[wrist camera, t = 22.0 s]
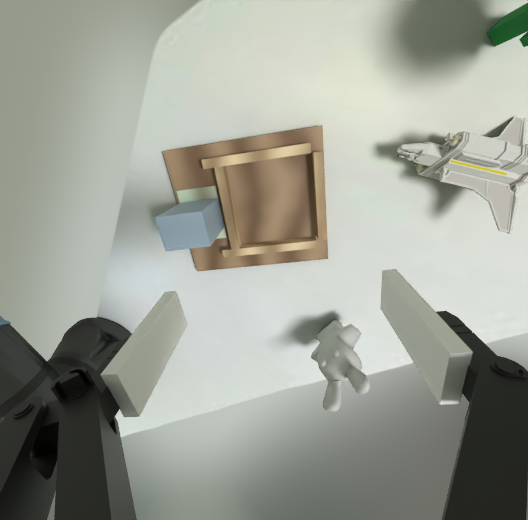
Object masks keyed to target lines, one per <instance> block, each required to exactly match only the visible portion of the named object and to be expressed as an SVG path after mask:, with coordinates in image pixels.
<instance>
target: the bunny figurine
mask: <svg viewBox="0 0 528 520" xmlns="http://www.w3.org/2000/svg"><path fill="white" fill-rule="evenodd" d="M360 335H361V332H360V331H359V330H358V329H357V328H356V327H354V326H353V325H352V324H350V325H348V326H346V327H343V326H342V324H341V323H340V322H339V321H338V320H336V319H334V320H333V321H332V322H331V323H329V325H328V326H326V327H324V328H323V329H322V330H321V331H320V332H319V333H318V334H317V336H316V337H317V339H318V340H319V341H320V344H319V345H318V347H317V348H316V349H315V351H314V352H313V353H312V355H311V358H312V359H314V360H315V361H316V362H318V365H319V369H320V370H321V372H322V373H323V375H324V376H325V377H326V379H327V380H328V382H329V383H328V386H327V390H326V393H325V397H324V400H323V407H324V408H325V410H329V411H333V412H336V411H337V410H338V409H339V407H340V404H341V387H342V382H347V381H350V383H351V384H352V386H353V387H354V389H355V390H356V392H357V393H359V394H365V393H367V391H368V390H369V389H370V384H369V381H368V379H367V377H366V375H365V374H364V373H362V372H361V371H360V370H361V369H362V363H361V361H360V358H359V357H358V355H357V354H356V353H355V352H354V351H353V348H354V346H355V344H356V342H357V340H358V339H359V337H360Z"/></svg>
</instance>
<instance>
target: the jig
mask: <svg viewBox="0 0 528 520" xmlns="http://www.w3.org/2000/svg"><path fill="white" fill-rule="evenodd" d="M163 155H164V158H165V162H166V165H167V169H168V172H169V176H170V179H171V183H172V186H173V190H174V193H175V197H176V200H177V204H179V203H184V202H192V201H199V200H207V199H214V198H218V199H219V204H220V209H221V213H222V218H223V223H224V228H223V230H222V231H221V233H220V234H219V235H218V237H217V238H216V239H215V241H214V242H213V244H212V245H211V246H209V247H200V248H191V253H192V256H193V260H194V263H195V267H196V270H197V271H205V270H216V269H226V268H237V267H247V266H258V265H268V264H279V263H289V262H300V261H310V260H320V259H328V246H327V222H326V199H325V175H324V152H323V128H322V125H321V126H315V127H309V128H303V129H297V130H291V131H284V132H278V133H272V134H266V135H260V136H254V137H248V138H242V139H236V140H230V141H224V142H218V143H212V144H206V145H199V146H193V147H187V148H181V149H175V150H169V151H163Z"/></svg>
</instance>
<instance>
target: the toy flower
mask: <svg viewBox="0 0 528 520" xmlns="http://www.w3.org/2000/svg"><path fill="white" fill-rule="evenodd" d="M527 31H528V3H527V4H525V5H523V6H521V7H520V8H518V9H516V10H514V11H513V12H511V13H509V14H508V15H506V16H504V17H502V18H501V19H500V20H499V21H498V22H497V23H496V24H495V25H494V26H493V27H492V28H491V29H490V30H489V31H488V32H487V35H488V37H489V38H490V40H491V42H492V43H493V45H494V46H497V45H499V44H501V43H503V42H506V41H508V40H510V39H512V38H514V37H516V36H519V35H521V34H523V33H525V32H527ZM519 40H520V41H521V43H522V45H523V46H524V47H525V46H528V32H527V33H526V34H525V35H524V36H523V37H522V38H521V39H519Z"/></svg>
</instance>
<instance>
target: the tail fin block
mask: <svg viewBox="0 0 528 520" xmlns="http://www.w3.org/2000/svg"><path fill="white" fill-rule="evenodd" d="M155 220H156V223H157V226H158V229H159V232H160V235H161V238H162V241H163V244H164V247H165V250H166V251H172V250H182V249H191V248H200V247H209V246H211V245H212V244H213V242H214V241H215V239H216V238H217V237H218V235H219V234H220V233H221V231H222V230H223V228H224V223H223V218H222V213H221V209H220V204H219V199H218V198H214V199H207V200H199V201H192V202H184V203H179V204H177V205H176V206H174V207H172V208H170V209H169V210H167V211H165V212H163V213H161V214H160V215H158V216H156V217H155Z"/></svg>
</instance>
